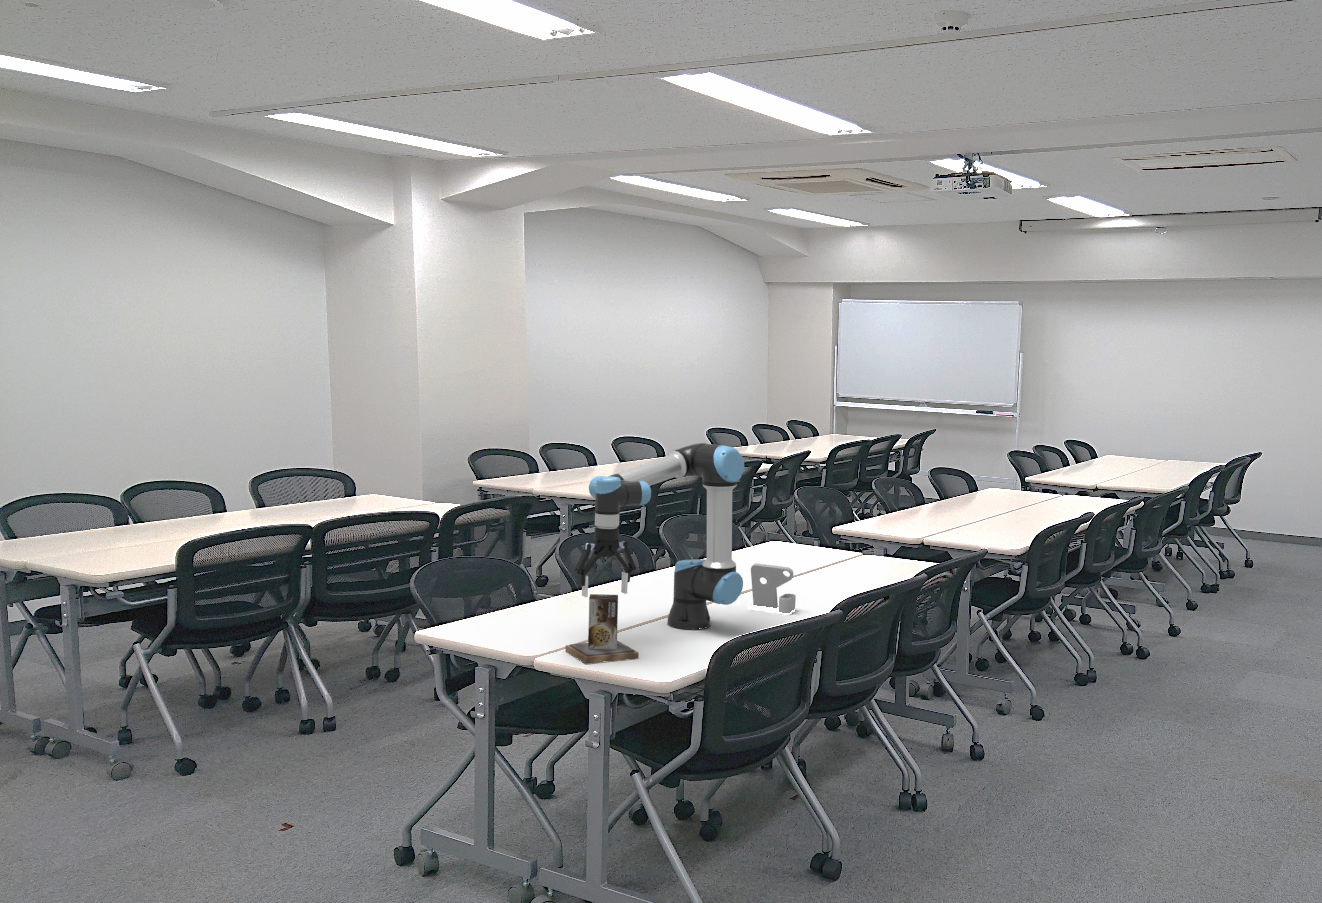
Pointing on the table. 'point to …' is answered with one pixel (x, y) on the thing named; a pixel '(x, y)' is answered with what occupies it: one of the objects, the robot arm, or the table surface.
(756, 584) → the grey bracket with cup
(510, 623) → the table surface
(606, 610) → the coffee box
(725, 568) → the robot arm
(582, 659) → the tray
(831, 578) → the table surface
